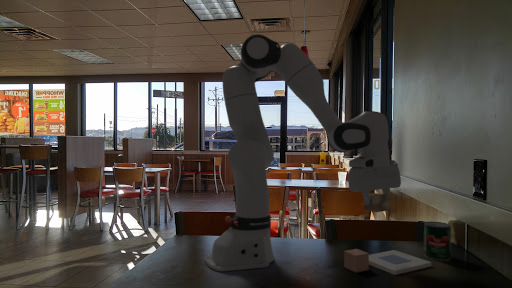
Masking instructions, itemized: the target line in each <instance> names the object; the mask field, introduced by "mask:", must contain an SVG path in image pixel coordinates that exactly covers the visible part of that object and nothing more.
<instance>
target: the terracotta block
mask: <svg viewBox="0 0 512 288" xmlns="http://www.w3.org/2000/svg"><path fill="white" fill-rule="evenodd" d="M369 255H370V253H369V252H366V251H365V250H364V251H363V250H361V249H359V248H354V249H347V250H344V251H343V261H344V264H343V268H345V269H347V270H350V271H351V272H353V273H361V272H365V271H369V270H370V269H369V268H370V267H369V266H370V265H369Z"/></svg>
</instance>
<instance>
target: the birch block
mask: <svg viewBox="0 0 512 288" xmlns="http://www.w3.org/2000/svg"><path fill="white" fill-rule="evenodd" d="M368 195H369V197H370V199H372V204H371V205H366V204H365V199H364V197H363V196H362V199H363V211H369V212H372V213H381V212H387V211H388V212H389V211H390V199H389V198H390V196H389V195H390V194H389V195H386V194H383V193H379V192H378V193H377V192H374V193H370V194H368Z"/></svg>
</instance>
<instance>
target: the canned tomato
mask: <svg viewBox="0 0 512 288" xmlns="http://www.w3.org/2000/svg"><path fill="white" fill-rule="evenodd" d="M423 224H424V226H423V227H424V229H423V230H424V231H423V232H424V234H423V235H424V238H423V239H424V243H423V244H424V245H423V246H424V256H425V258H427V257H428V258H427V259H430V260H433V259H434V261H439V260H440V261H441V262H443V261H444V262H447V261H451V260H452V237H451V236H452V225H451V224H450V223H446V222H442V221H432V220H431V221H424V222H423Z"/></svg>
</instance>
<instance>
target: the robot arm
mask: <svg viewBox="0 0 512 288" xmlns="http://www.w3.org/2000/svg"><path fill="white" fill-rule="evenodd" d="M241 45H242V46H241V48H240V56H241V57H240V58H241V59H240V62H239V63H238V64H236V65H232V66H230V67H228V68H226V69H225V70H224V72H223V74H222V92H223V98H224V99H223V100H224V105H225V110H226V115H227V120H228V124H229V125H228V126H229V127H230V128H231V130H232V132H233V134H234V137H235V140H236V142H235V143H233V145H232V146H230V148H229V151H228V153H227V161H228V164H229V166H230V167H231V171H232V173H231V174H232V177H233V184H234V189H235V215H234V216H233V217H231V216H229V215H227V216H226V217H225V219H224V221H225V223H227V224H230V227H229V228H228V229H226V230H225V231H224V232H223V233H222V234H221V235H220V236H219V237H217V238H216V239H215V240H214V242H213V244H212V248H211V253H210V254H207V255H205V256H204V257H205V258H204V263H205V264H206V266H207V267H209V268H211V269H212V270H214V271H217V272H231V271H240V270H241V271H243V270H249V269H250V270H252V269H261V268H268V267H269V266H270V264H271V263H272V262H273V261H274V260H275V256H274V252H273V247H272V242H271V241H272V239H271V229H272V226H271V225H272V219H271V218H272V217H271V214H270V189H269V186H268V180H267V174H266V173H267V172H266V170H267V169H268V168H269V167H270V166H271V165H272V163H273V160H274V157H275V152H274V150H273V148H272V145H271V141H270V137H269V135H268V132H267V129H266V126H265V123H264V120H263V116H262V112H261V108H260V103H259V97H258V93H257V92H258V91H257V89H256V88H257V87H256V83H257V82H259V81H261V80H263V79H265V78H266V77H268V76H269V75H270V73H271V72H274V73H276V74H278V75H279V76H280V77H281V79H283V81H284V83H285V85H286V86H287V87H288V88H289V89H290V90H291V92H292V93H293V94H294V95H295V96H296V97H297V98H298V99H299V100H300V101H301V102H302V103H303V104H305V106H306V107H308V109H309V110H310V111H311V112H312V114H313V115H314V117H315V118H316V119H317V121H318V122H319V124H320V125H321V126H322V128H323V130H324V131H325V134H326V140H327V143H328V146H330V148H331V149H332V150H333V151H335V152H337V153H341V154H342V153H343V154H344V153H348V152H353V151H356V150H358V149H359V150H360V155H358V156H356V157H354V158H352V159H351V160H349V161H348V167H349V168H350V169H349V171H348V188H349V190H350V192H355V193H357V192H358V193H359V192H361V196H362V198H363V197H364V199H365V204H366V205H371V204H372V199H370V197H369V195H368V194H371V193H370V191H379V190H381V192H382V194H386V195H390V193H391V189H399V188H400V187H401V185H402V179H401V173H400V172H401V171H400V169H399V164H398V163H397V161H395V160H393V159H391V160H390V149H389V143H388V142H389V139H390V135H389V131H390V130H389V125H388V120H387V116H386V115H385V114H384V113H383V112H380V111H374V110H366V111H362V112H361V113H360V114H359V115H357V116H355V117H354V118H351V119H349V120H347V121H344V122H343V121H342V120H341V119H340V118H339V117H338V114H336V112H335V111H334V109H333V108H332V107H331V105H330V104H329V102H328V100H327V98H326V97H327V96H326V94H325V82H324V80H323V77H322V75H321V73H320V71H319V69H318V67H317V66H316V65H315V64H314V62H313V61H312V59H310V57H309V56H308V55H307V54H306V52H304V51H303V50H302V48H300V47H299V46H298V45H297V44H295V43H292V42H287V43H284V44H282V45H280V44H279V42H277V41H275V40H273V39H272V38H271V39H270V38H269V37H267V36H266V35H263V34H252V35H250V36H248V37H247V38H246V39H245V40H244V42H243V43H242V44H241Z"/></svg>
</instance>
